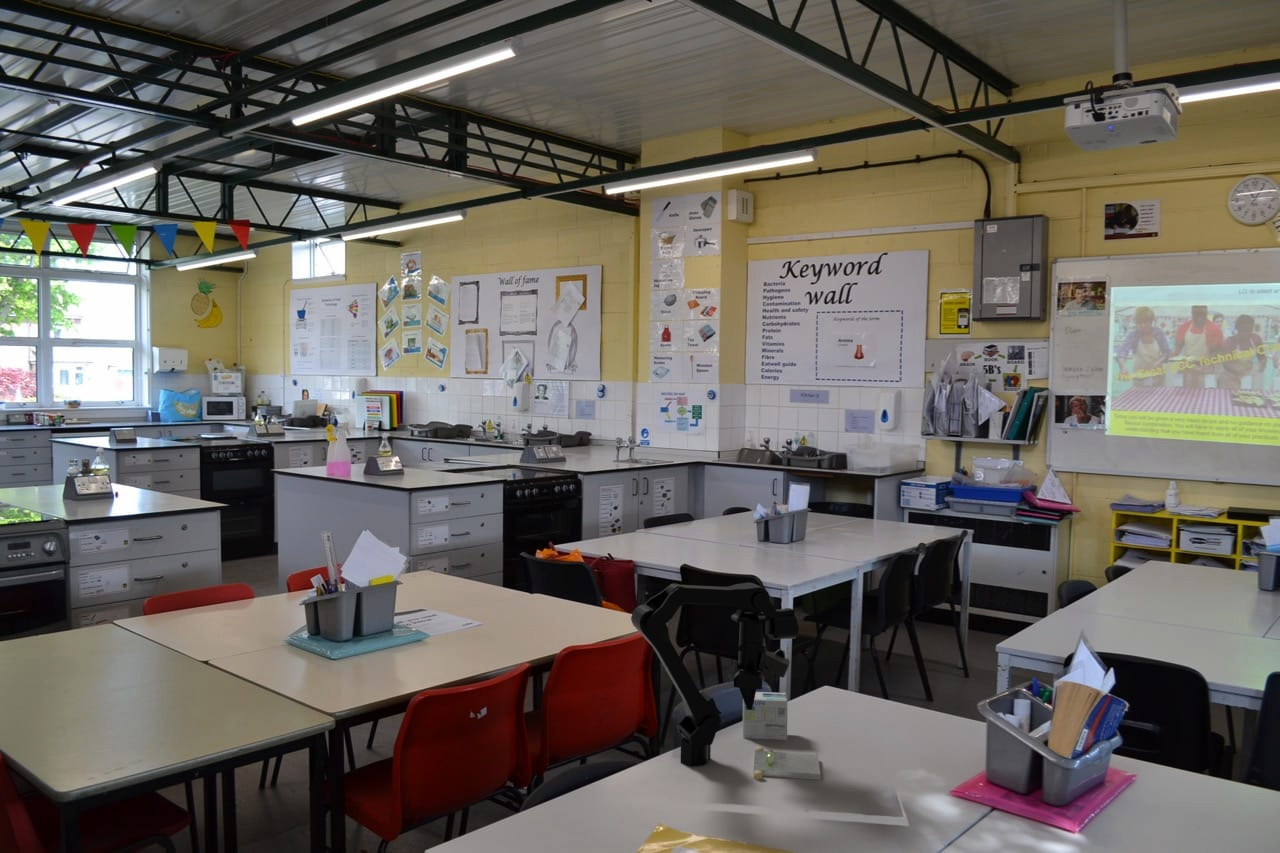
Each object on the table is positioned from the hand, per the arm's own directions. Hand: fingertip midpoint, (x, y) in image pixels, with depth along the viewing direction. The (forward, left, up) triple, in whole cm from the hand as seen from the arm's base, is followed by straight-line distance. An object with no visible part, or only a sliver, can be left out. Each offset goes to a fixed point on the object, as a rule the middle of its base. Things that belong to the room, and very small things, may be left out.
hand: (749, 709), depth 205 cm
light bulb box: (+13, +6, -12) cm, 19 cm away
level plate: (0, -10, -11) cm, 15 cm away
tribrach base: (0, -10, -12) cm, 15 cm away
